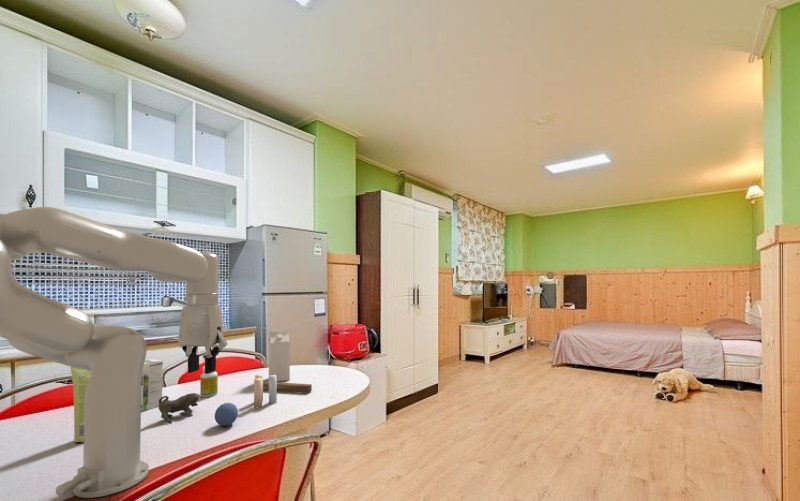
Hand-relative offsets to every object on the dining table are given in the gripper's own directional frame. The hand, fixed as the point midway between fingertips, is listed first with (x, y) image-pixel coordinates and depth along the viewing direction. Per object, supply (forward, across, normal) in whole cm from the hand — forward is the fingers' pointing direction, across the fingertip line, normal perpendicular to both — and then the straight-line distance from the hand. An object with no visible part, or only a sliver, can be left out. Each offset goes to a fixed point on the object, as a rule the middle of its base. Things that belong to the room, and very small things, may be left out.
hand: (201, 371), depth 100 cm
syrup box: (+18, -35, +18) cm, 43 cm away
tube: (+18, -30, -6) cm, 35 cm away
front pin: (+17, 0, +24) cm, 30 cm away
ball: (+14, 0, +10) cm, 17 cm away
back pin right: (+17, +2, +29) cm, 34 cm away
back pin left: (+17, -2, +29) cm, 34 cm away
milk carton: (+18, -10, +54) cm, 57 cm away
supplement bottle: (+18, -24, +32) cm, 43 cm away
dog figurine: (+18, -18, +12) cm, 28 cm away
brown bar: (+17, 0, +40) cm, 44 cm away
